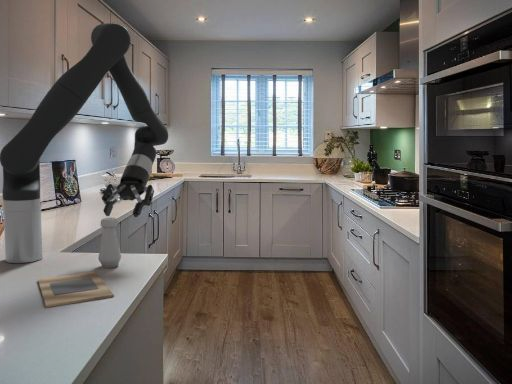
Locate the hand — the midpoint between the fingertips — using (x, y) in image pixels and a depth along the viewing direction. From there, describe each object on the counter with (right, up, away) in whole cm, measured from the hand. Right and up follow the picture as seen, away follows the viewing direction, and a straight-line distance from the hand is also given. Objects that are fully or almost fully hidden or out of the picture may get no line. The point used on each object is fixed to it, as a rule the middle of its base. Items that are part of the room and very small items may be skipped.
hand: (120, 215), depth 122 cm
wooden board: (-3, -15, -25) cm, 29 cm away
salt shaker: (-1, -14, -5) cm, 15 cm away
